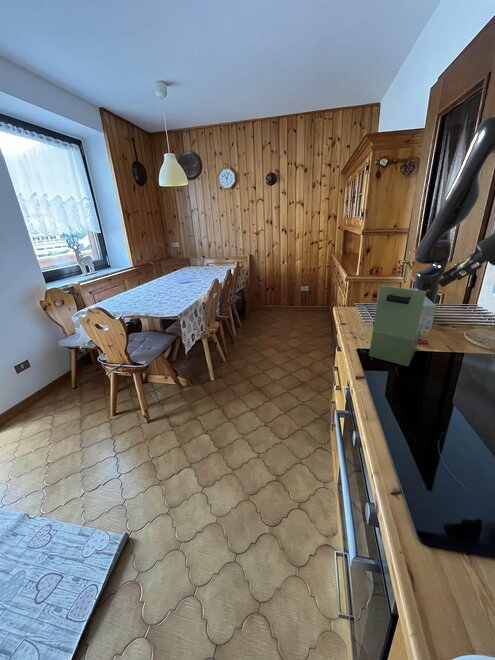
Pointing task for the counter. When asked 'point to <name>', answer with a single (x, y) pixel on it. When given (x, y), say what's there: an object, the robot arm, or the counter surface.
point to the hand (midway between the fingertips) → (442, 280)
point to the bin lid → (398, 311)
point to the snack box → (426, 319)
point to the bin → (394, 347)
